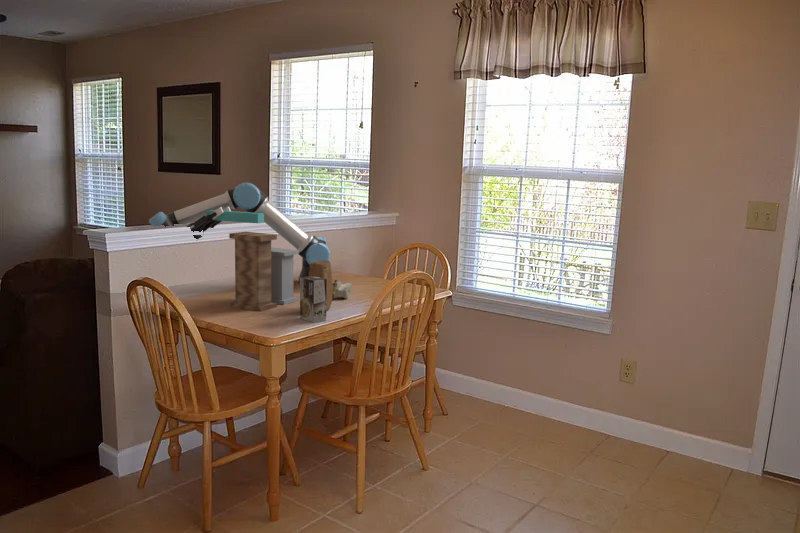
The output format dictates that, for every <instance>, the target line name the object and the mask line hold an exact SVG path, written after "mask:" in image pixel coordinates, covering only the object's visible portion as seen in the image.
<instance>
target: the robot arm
mask: <svg viewBox="0 0 800 533" xmlns="http://www.w3.org/2000/svg"><path fill="white" fill-rule="evenodd" d="M240 208H241V209H242V210H243V211H244V212H252V213H264V223H265V224H266V225H267V226H268V227H269V228H271V229H272V230H273V231H275V233H277V235H279V236H280V237H281V238H283V239H284V240H286V242H288V243H289V244H290V245H292V246H293V247H294V248H295V250H299V254H298V255H299V256H300V257H301V259H302V261H301V264H302V265H301V266H302V267H301V269H300V273H299V276H298V284H300V278H301V277H307V276H309V272H310V264H311V263H312V262H314V261H318V260H320V261H329V262H330V258H331V251H330V248H329V247H328V245H327V240H326V237H323V236H318V237H317V236H315V235H314V234H308V233H307V232H306V231H305V230H303V229H302V228H301V227H300V226H298V225H297V224H296V223H295V222H294V221H293V220H291V219H290V218H289V217H288V216H286V215H285V214H284V213H283V212H282V211H281V210H279V209H278V208H277V207H275V205H274V204H272V203H271V202H270V201H269V196H267V195H266V194H265V193H264V192H263V191H262V190H260V189H259V188H258V187H257V185H255V184H253V183H252V182H247V181H246V182H240V183H239V184H238V185H236V186H234V187H232V188H229V189H227V190H226V191H225V193H223V194H219V195H217V196H215V197H211V198H208V199H206V200H202V201H199V202H197V203H194V204H192V205H189V206H185V207H183V208H181V209H177V210H175V211H172V212H170V213H167V214H165V213H164V212H163V211H159V212H157V213H156V214H155V215H153V216H151V218H149V219H148V223H149V224H150V225H151V227H152V226H160V225H164V226H165V227H166V226H174V224H186V225H187V226H186V227H190V229H191V231H193V232H194V231H199V232H201V231H202V230H203V233H204V232H206V231H207V230H208V229H211V228H213V229H214V228H215V227H216V226H217V225H219V224H221V223H222V222H223V221H218V220H214V219H216V218H217V217H218V216H220V215H221V214H223V213H224V212H223V211H232V210H231V209H233V210H236V209H237V210H238V209H240ZM206 210H215V211H214V212H213V213H211V214H210V215H206ZM212 219H213V220H212ZM187 223H189V224H187ZM193 236H194V238H196V239H198V240H199V238H200V239H201V238H202V237H203V236H201V235H193Z"/></svg>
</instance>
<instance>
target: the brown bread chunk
mask: <svg viewBox="0 0 800 533" xmlns="http://www.w3.org/2000/svg"><path fill="white" fill-rule="evenodd" d="M309 276H316V277H321V278H325V279H327V298H326V312H327V311H329V309H330V308H331V305H332V302H333V299H332V288H333V283H334V282H333V273H332V265H331V261H330V260H329V261H320V260H318V261H314V262H312V263H311V264H310V272H309Z"/></svg>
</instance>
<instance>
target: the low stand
mask: <svg viewBox="0 0 800 533" xmlns="http://www.w3.org/2000/svg"><path fill="white" fill-rule="evenodd" d="M294 255H299V250H297V249H290V248H289V249H288V248H281V247H280V248H279V247H271V302H272V303H277V305H288V304H291V303H294V302H298V301H299V297H298V296H294Z"/></svg>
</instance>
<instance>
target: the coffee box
mask: <svg viewBox="0 0 800 533" xmlns="http://www.w3.org/2000/svg"><path fill="white" fill-rule="evenodd" d="M326 298H327V279H325V278H321V277H316V276H307V277H301V278H300V283H299V318H300V319H302V320H305V321H308V322H311V323H319V322H323V321H324V322H325V321H327V311H326Z"/></svg>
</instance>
